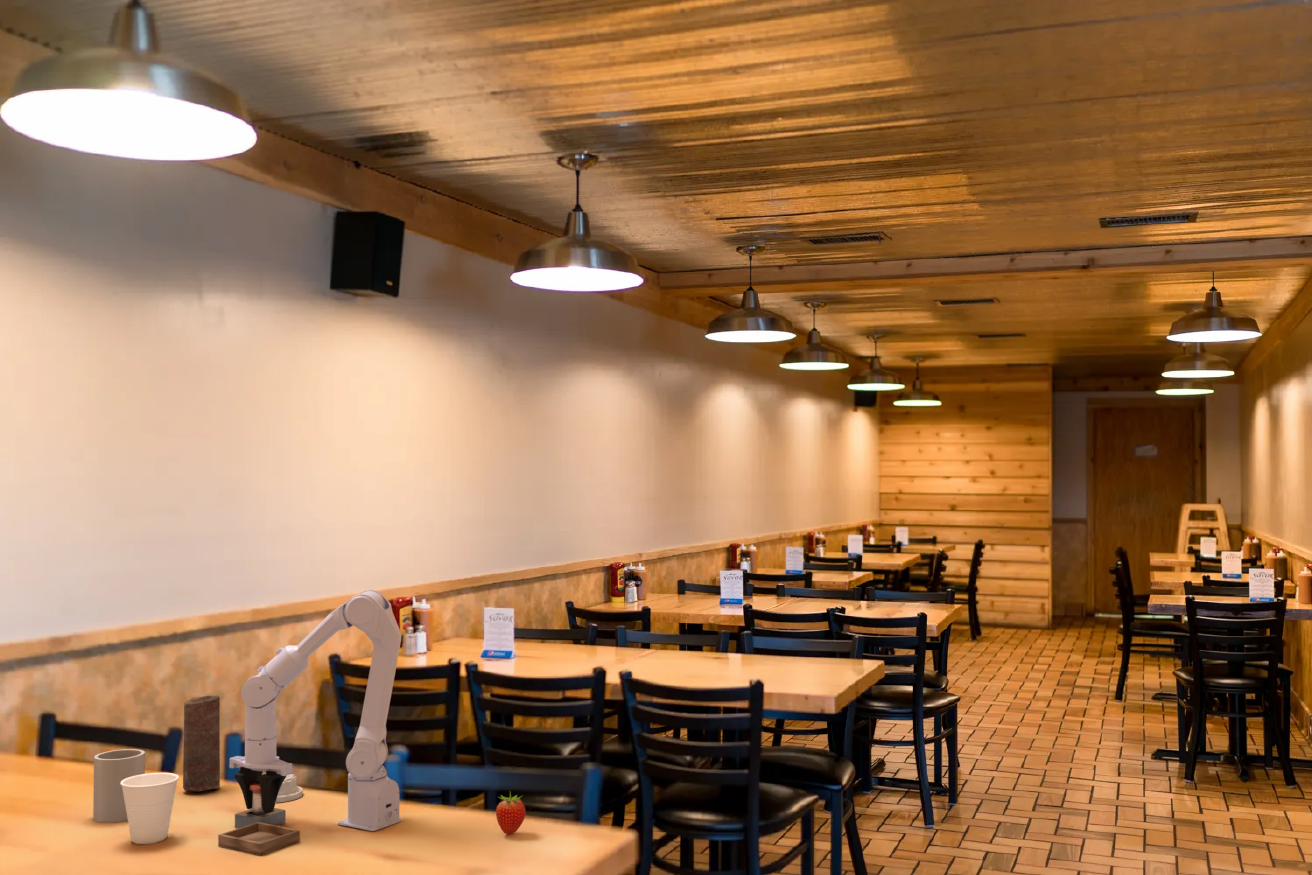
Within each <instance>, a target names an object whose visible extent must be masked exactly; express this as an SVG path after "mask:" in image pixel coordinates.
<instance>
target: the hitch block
mask: <svg viewBox="0 0 1312 875" xmlns="http://www.w3.org/2000/svg"><path fill="white" fill-rule="evenodd" d="M286 812H287V811H286V809H281V808H277V807H274V810H271V811H269V813H268V814H264V815H261V816H256V815H252V809H247V810H243V811H240V812H236V813H234V828H235V829H238V828H241V827H244V826H247V825H251V824H254V823H257V822H261V823H266V824H271V825H276V826H281V825H284V824H286V823H287V822H286V817H287V816H286Z"/></svg>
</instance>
